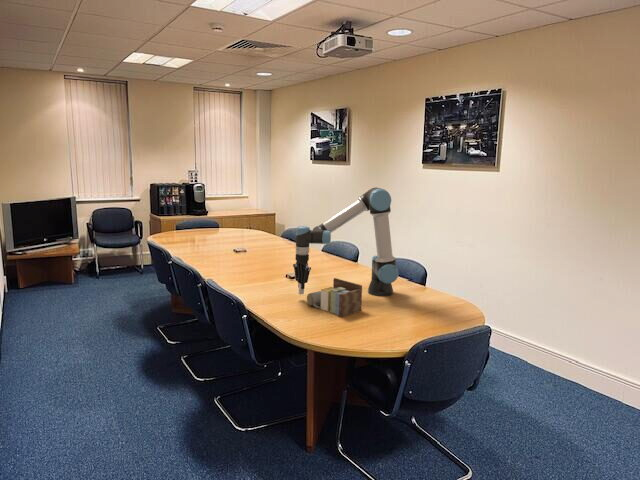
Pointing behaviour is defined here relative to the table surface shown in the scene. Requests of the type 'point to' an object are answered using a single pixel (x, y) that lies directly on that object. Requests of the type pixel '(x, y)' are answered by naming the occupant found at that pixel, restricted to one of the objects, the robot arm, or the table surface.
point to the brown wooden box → (345, 297)
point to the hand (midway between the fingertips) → (301, 293)
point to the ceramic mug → (314, 299)
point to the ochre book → (326, 298)
